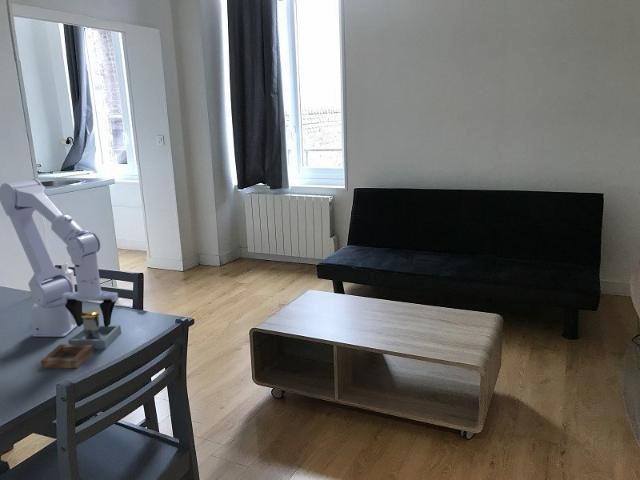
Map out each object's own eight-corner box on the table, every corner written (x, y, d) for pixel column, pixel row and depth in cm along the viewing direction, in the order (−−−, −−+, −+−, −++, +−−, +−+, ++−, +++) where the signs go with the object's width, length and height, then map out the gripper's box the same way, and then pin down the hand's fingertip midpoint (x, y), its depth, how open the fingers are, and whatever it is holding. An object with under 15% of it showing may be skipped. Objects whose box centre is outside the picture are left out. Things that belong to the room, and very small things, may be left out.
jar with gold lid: (81, 343, 143) (77, 316, 141) (89, 336, 148) (86, 309, 146) (97, 344, 143) (94, 316, 141) (105, 336, 147) (102, 310, 145)
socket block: (42, 367, 132) (40, 360, 131) (60, 351, 140) (59, 344, 140) (77, 368, 131) (76, 360, 131) (94, 351, 140) (93, 344, 139)
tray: (69, 348, 142) (68, 340, 141) (87, 333, 151) (86, 325, 151) (105, 349, 141) (104, 340, 141) (121, 333, 151) (120, 325, 150)
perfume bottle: (65, 305, 173) (59, 261, 169) (79, 305, 173) (73, 261, 169) (60, 310, 168) (53, 266, 164) (74, 310, 168) (68, 265, 165)
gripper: (53, 283, 138) (60, 331, 142) (107, 283, 137) (113, 331, 141) (67, 274, 145) (73, 320, 148) (119, 274, 144) (124, 320, 148)
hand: (94, 325), depth 145 cm, fingers open, 7 cm apart
